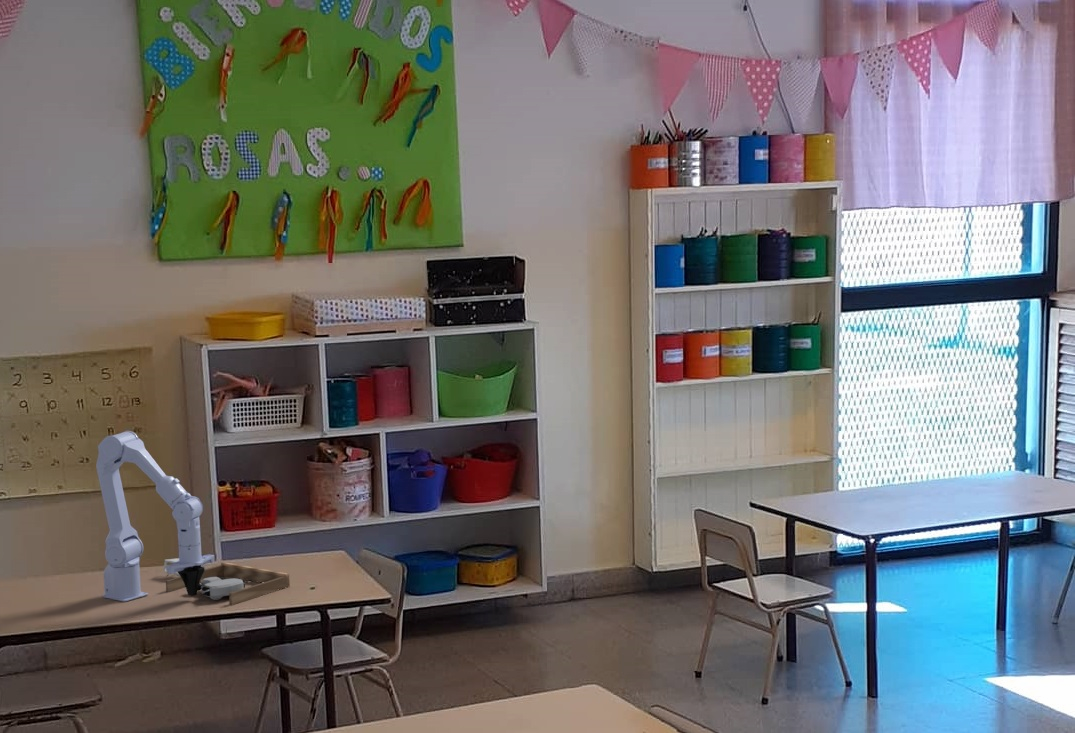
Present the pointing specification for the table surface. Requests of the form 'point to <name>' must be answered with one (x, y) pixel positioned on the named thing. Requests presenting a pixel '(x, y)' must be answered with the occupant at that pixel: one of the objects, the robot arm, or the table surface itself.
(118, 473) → the robot arm
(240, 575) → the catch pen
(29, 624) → the table surface
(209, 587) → the robot toy
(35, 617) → the table surface
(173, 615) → the table surface
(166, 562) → the origami figure
